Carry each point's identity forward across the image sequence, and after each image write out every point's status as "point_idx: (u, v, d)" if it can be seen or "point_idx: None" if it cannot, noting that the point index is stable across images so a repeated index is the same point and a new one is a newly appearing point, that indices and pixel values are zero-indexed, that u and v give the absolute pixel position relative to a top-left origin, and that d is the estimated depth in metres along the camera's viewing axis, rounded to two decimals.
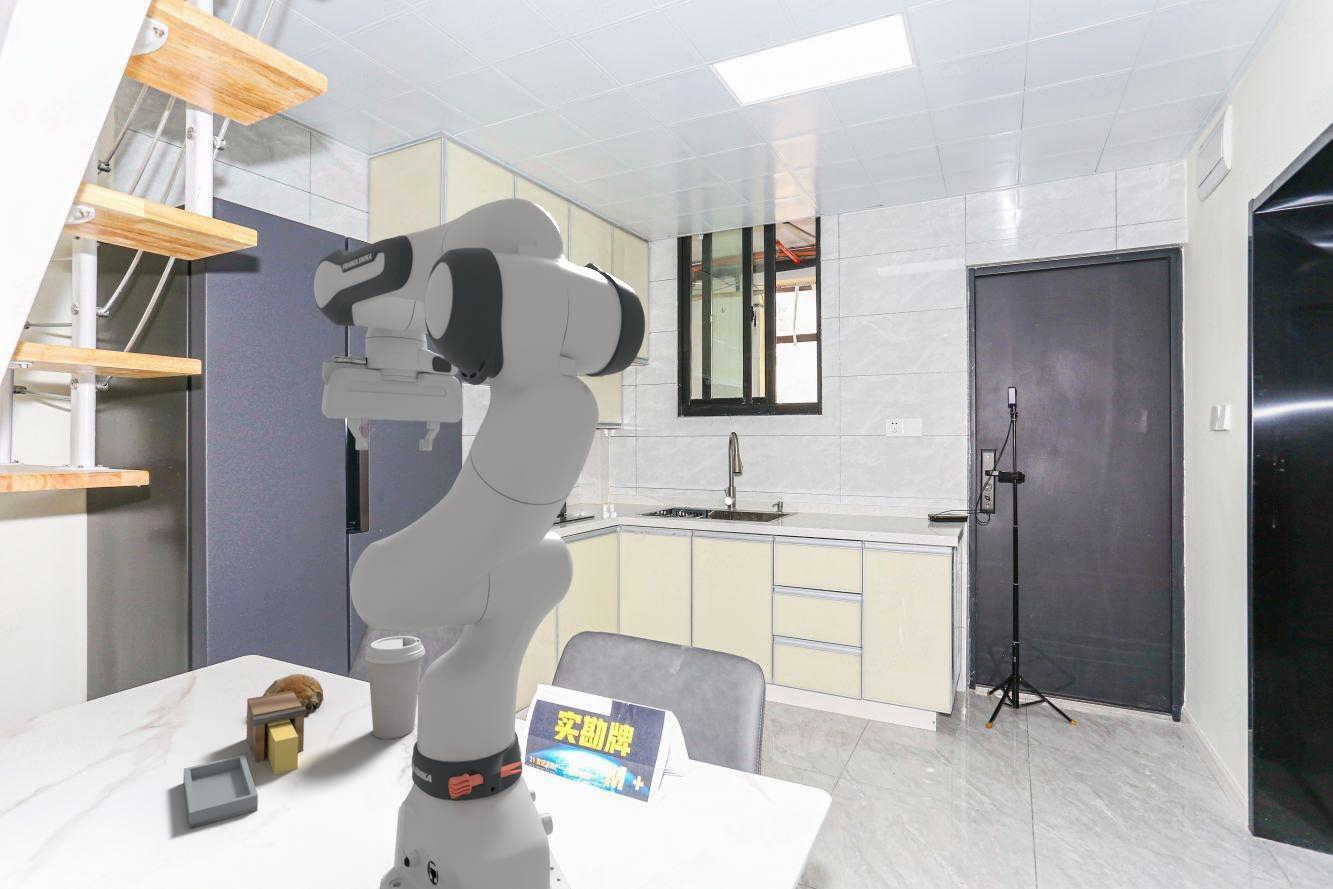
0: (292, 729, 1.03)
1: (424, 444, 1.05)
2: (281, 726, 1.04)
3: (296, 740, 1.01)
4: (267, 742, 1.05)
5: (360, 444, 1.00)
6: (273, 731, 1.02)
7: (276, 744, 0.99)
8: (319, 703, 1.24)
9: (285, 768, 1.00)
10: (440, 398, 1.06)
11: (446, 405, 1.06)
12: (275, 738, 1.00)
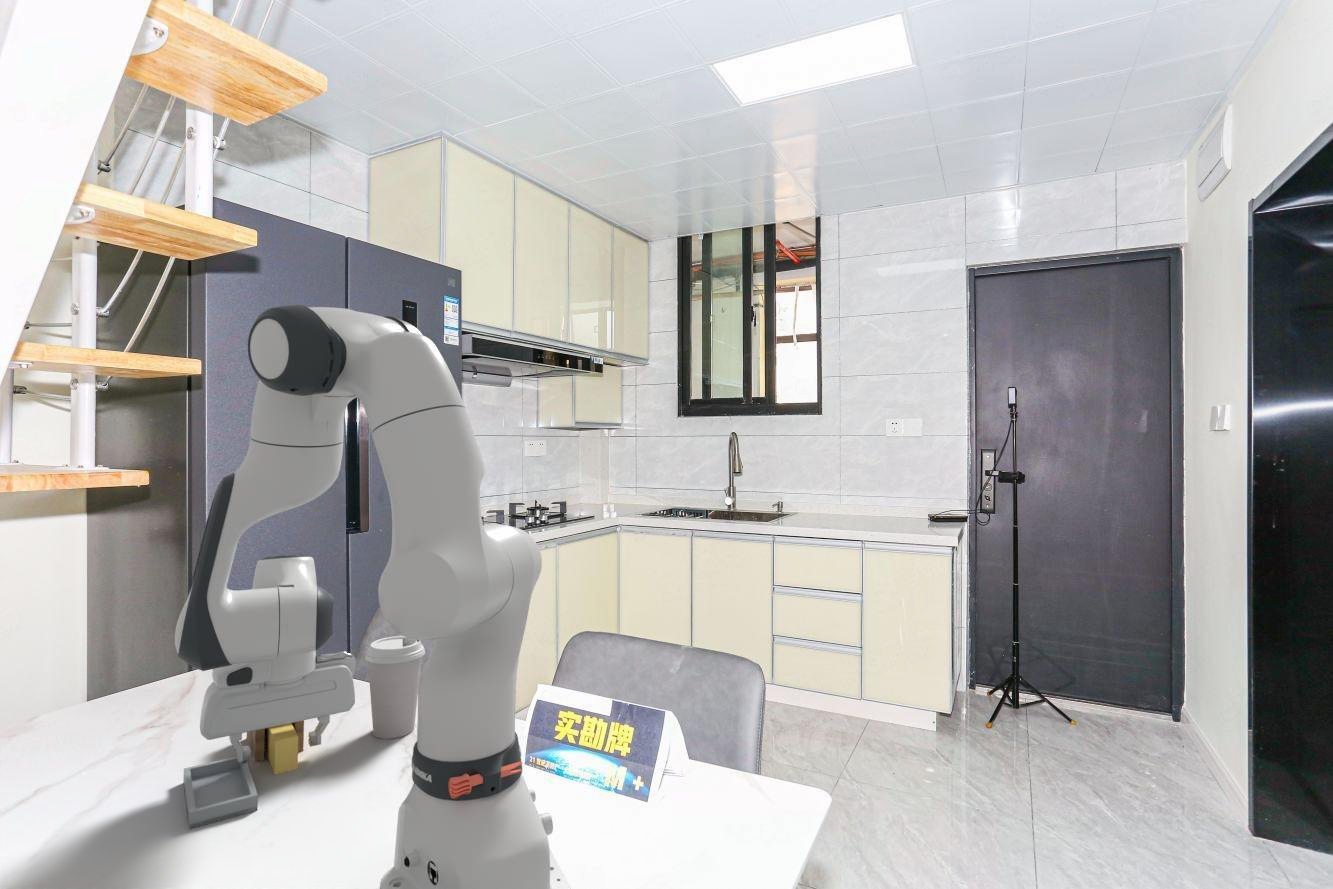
0: (292, 729, 1.03)
1: None
2: (281, 726, 1.04)
3: (296, 740, 1.01)
4: (267, 742, 1.05)
5: None
6: (273, 731, 1.02)
7: (276, 744, 0.99)
8: None
9: (285, 768, 1.00)
10: None
11: None
12: (275, 738, 1.00)
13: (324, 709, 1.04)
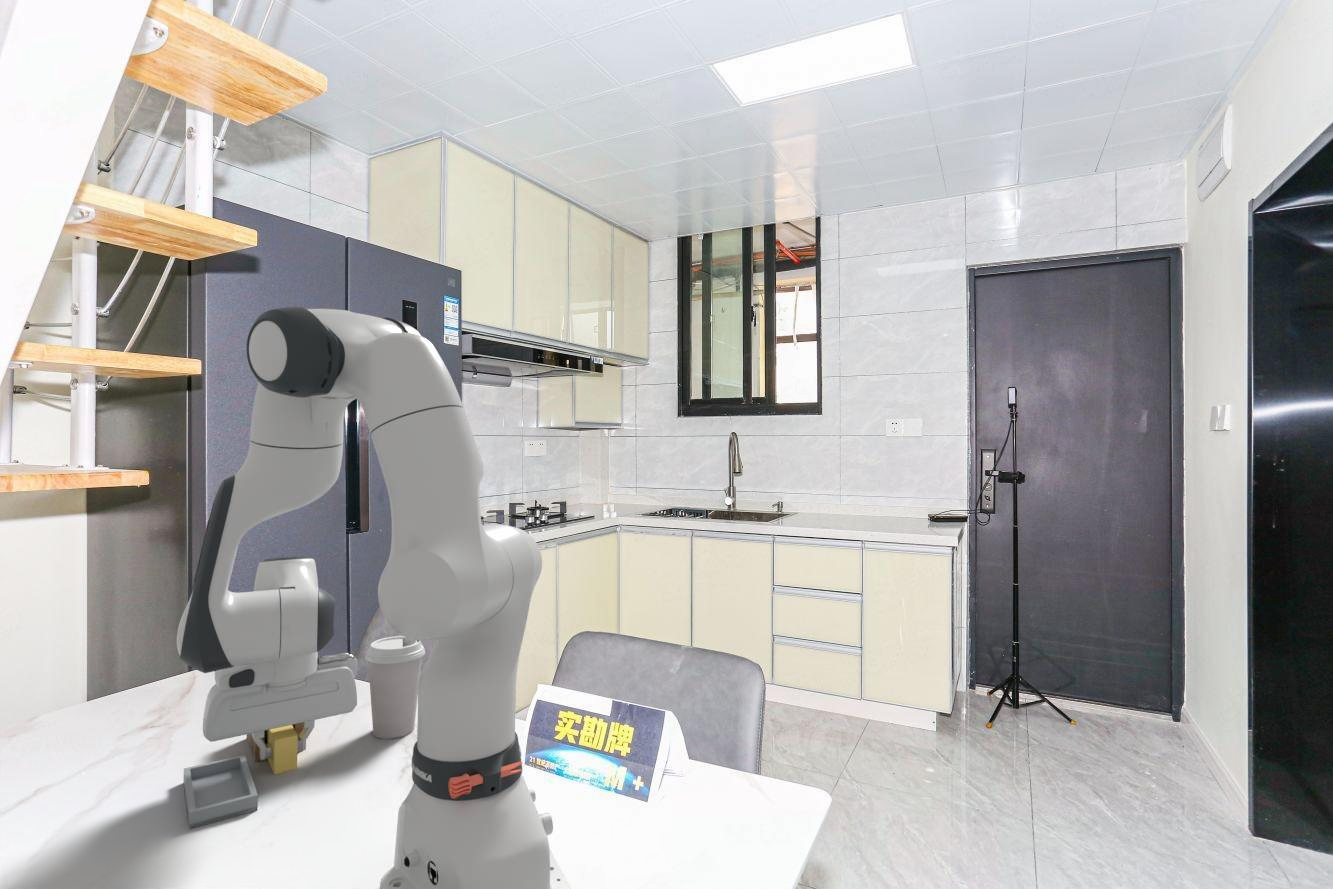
0: (291, 728, 1.03)
1: None
2: None
3: (296, 739, 1.01)
4: (266, 741, 1.05)
5: None
6: (273, 730, 1.02)
7: (276, 743, 0.99)
8: None
9: (285, 767, 1.00)
10: None
11: None
12: (275, 737, 1.00)
13: (326, 710, 1.04)
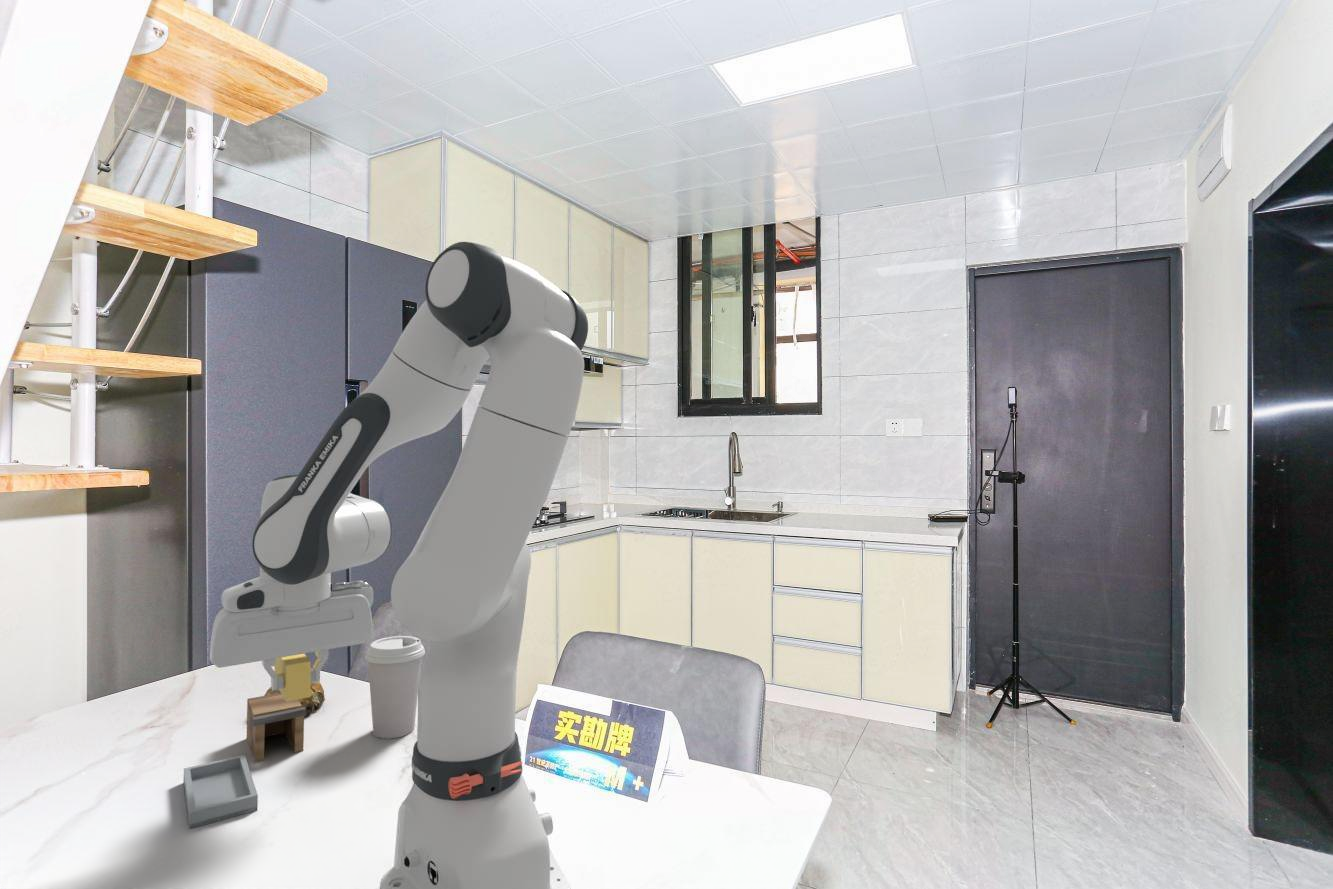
0: (304, 656, 0.97)
1: None
2: None
3: (309, 665, 0.95)
4: (277, 671, 0.99)
5: None
6: (284, 657, 0.96)
7: (287, 668, 0.93)
8: (320, 703, 1.23)
9: (297, 695, 0.94)
10: None
11: None
12: (286, 663, 0.94)
13: (341, 639, 0.97)
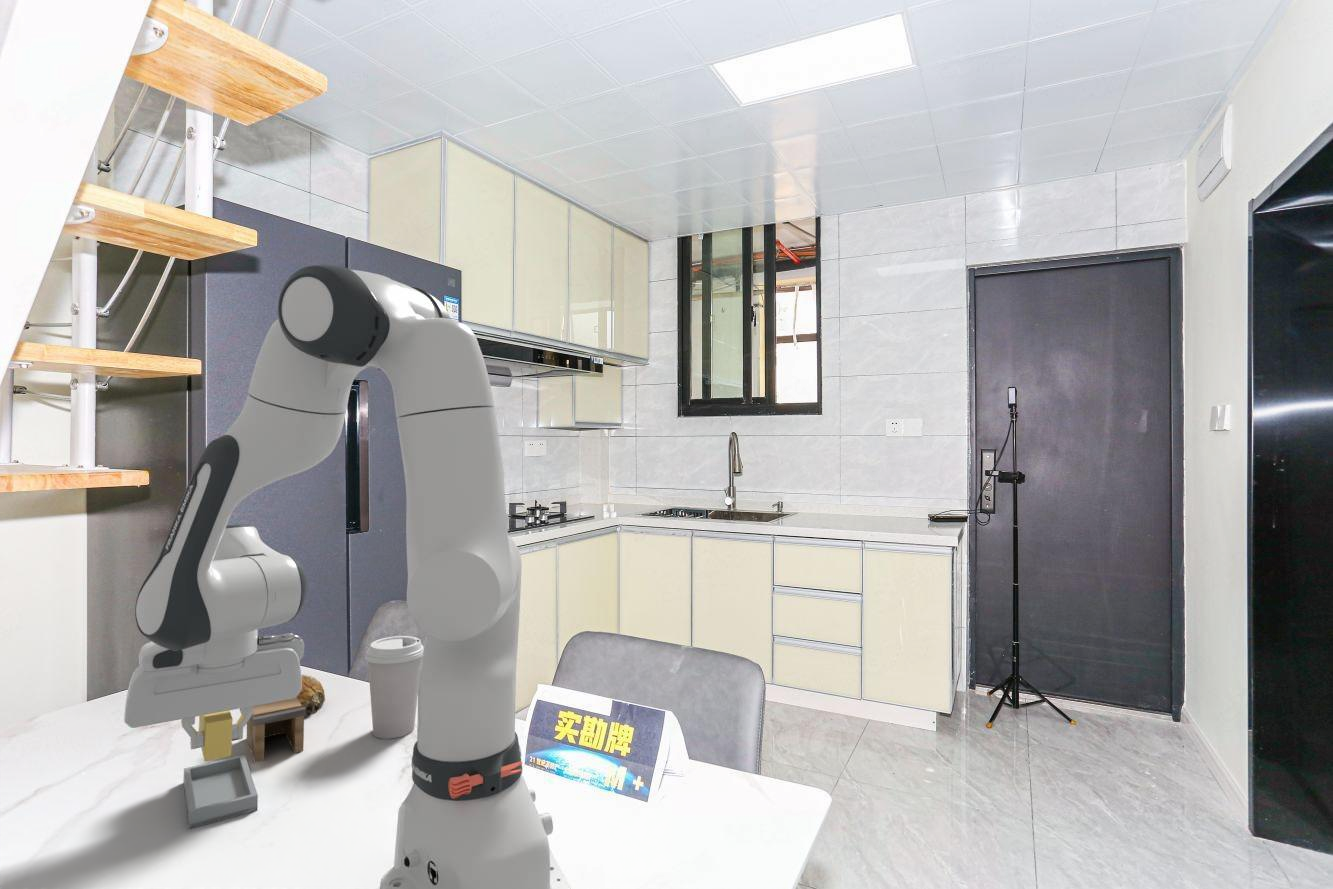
0: (227, 711, 0.94)
1: None
2: None
3: (230, 723, 0.92)
4: (200, 725, 0.96)
5: None
6: None
7: (207, 727, 0.90)
8: (320, 704, 1.23)
9: (217, 754, 0.91)
10: None
11: None
12: (206, 720, 0.91)
13: (266, 696, 0.94)
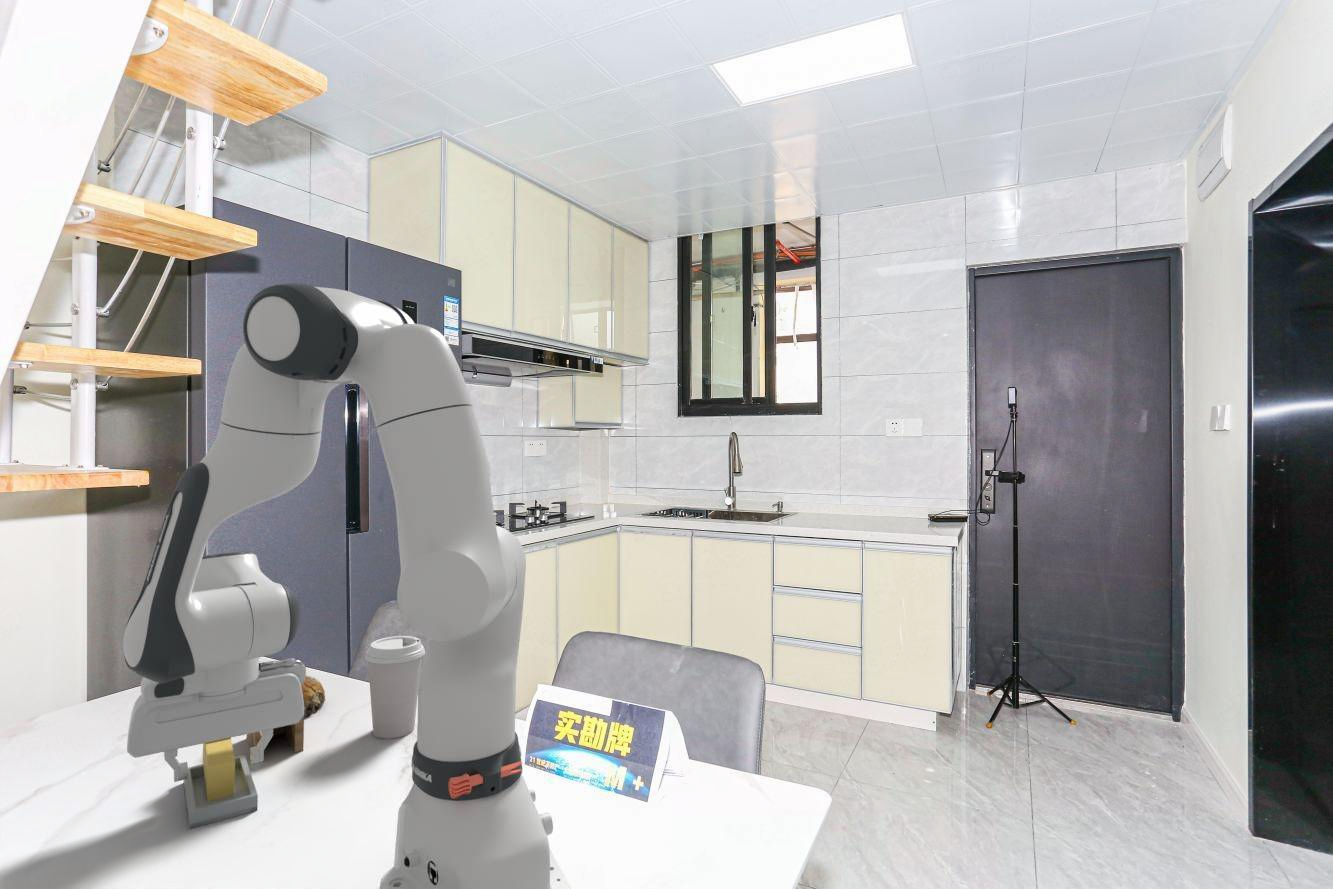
0: (230, 749, 0.94)
1: None
2: (219, 742, 0.95)
3: (233, 765, 0.91)
4: (204, 756, 0.96)
5: None
6: (209, 750, 0.93)
7: (210, 770, 0.90)
8: (321, 704, 1.23)
9: (220, 794, 0.91)
10: None
11: None
12: (209, 762, 0.90)
13: (269, 722, 0.95)
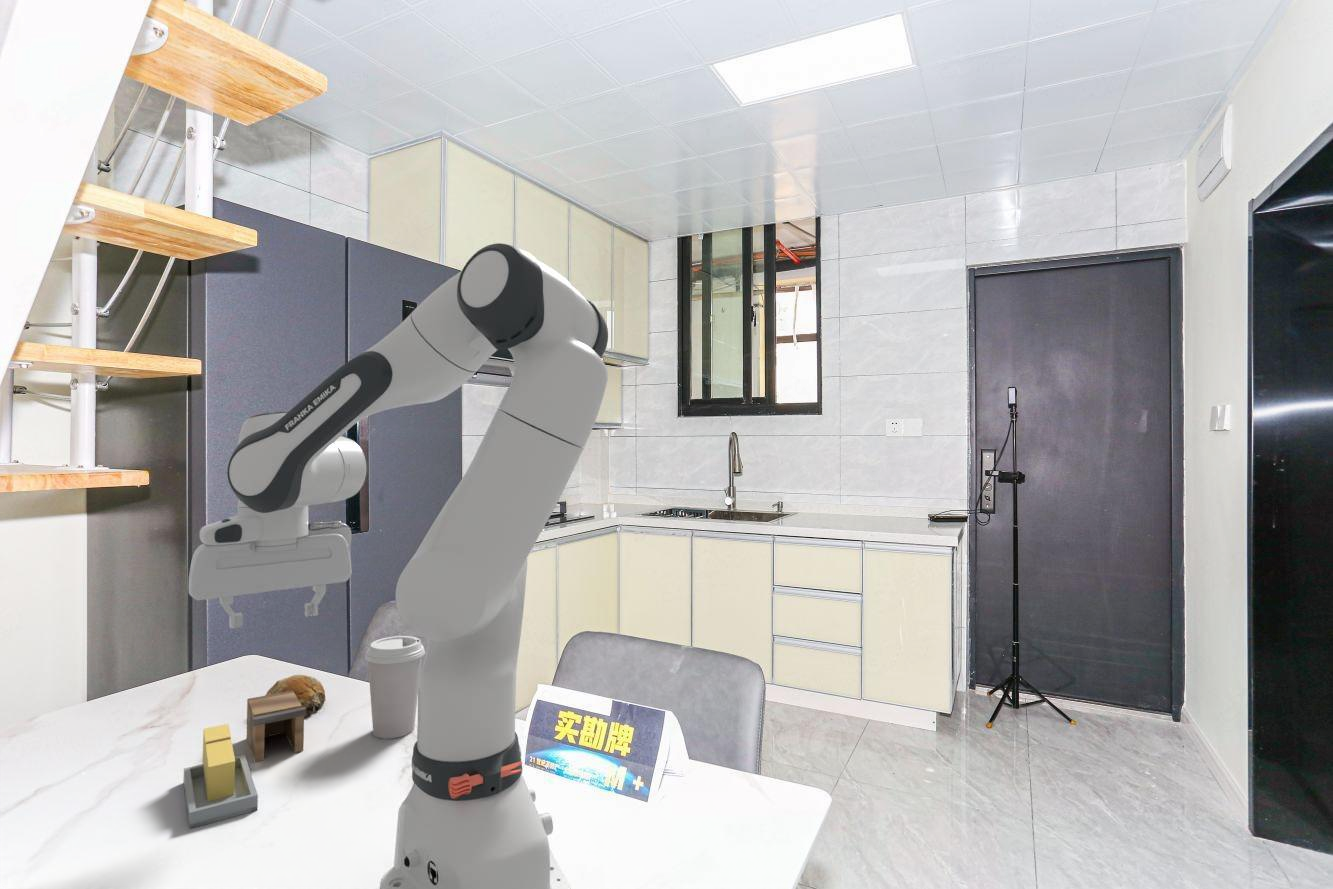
0: (230, 749, 0.94)
1: None
2: (219, 742, 0.95)
3: (233, 765, 0.91)
4: (204, 756, 0.96)
5: None
6: (209, 750, 0.93)
7: (210, 770, 0.90)
8: (321, 704, 1.23)
9: (220, 794, 0.91)
10: None
11: None
12: (209, 762, 0.90)
13: (319, 577, 0.99)
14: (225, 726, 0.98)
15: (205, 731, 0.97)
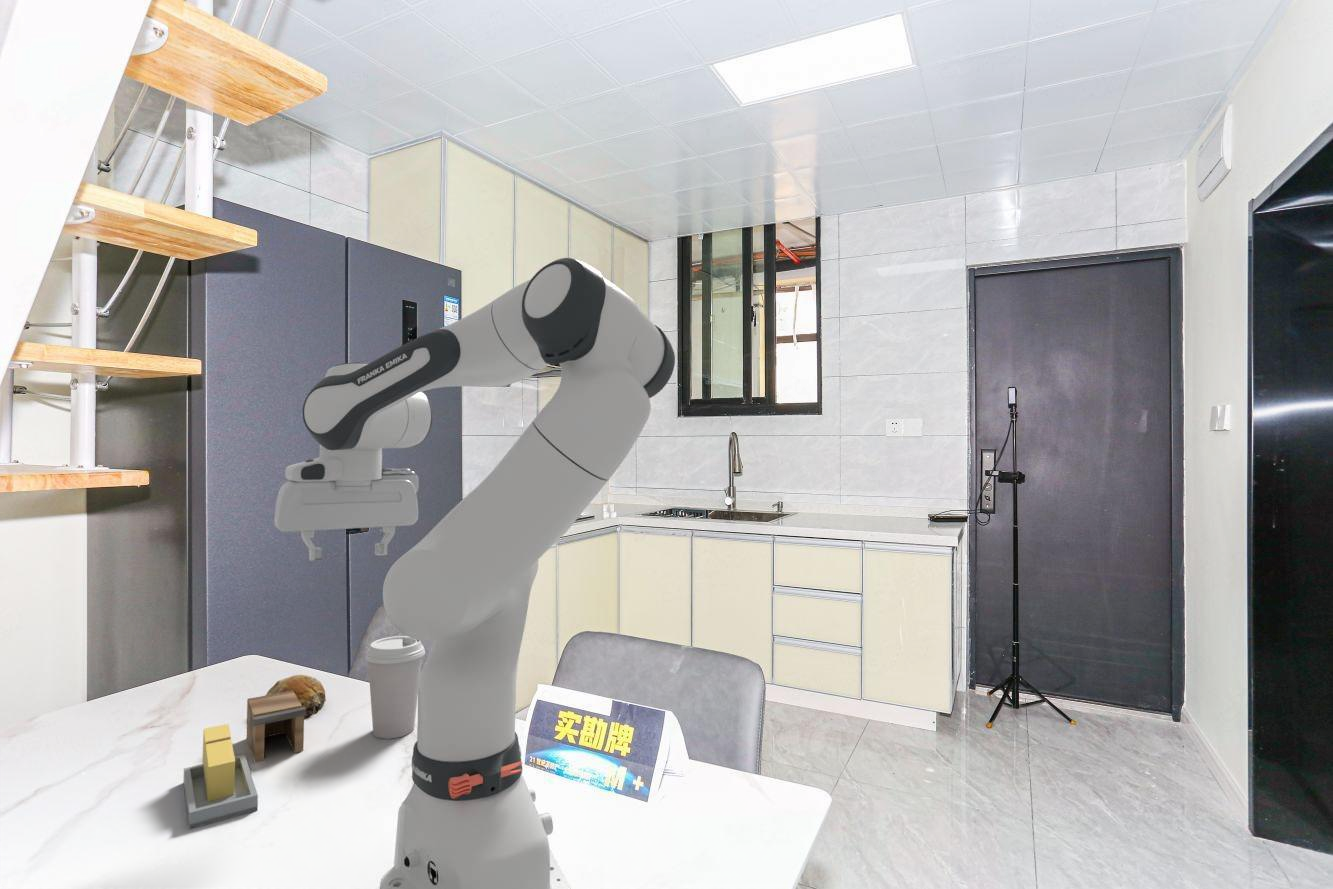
0: (230, 749, 0.94)
1: None
2: (219, 742, 0.95)
3: (233, 765, 0.91)
4: (204, 756, 0.96)
5: None
6: (209, 750, 0.93)
7: (210, 770, 0.90)
8: (321, 704, 1.23)
9: (220, 794, 0.91)
10: None
11: None
12: (209, 762, 0.90)
13: (390, 519, 1.06)
14: (225, 726, 0.98)
15: (205, 731, 0.97)
